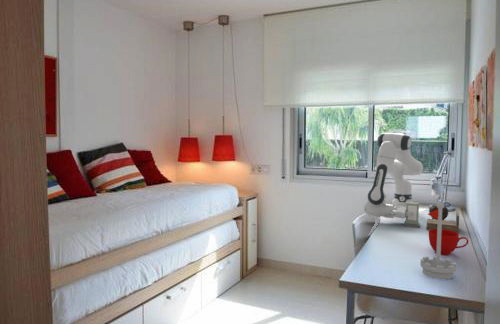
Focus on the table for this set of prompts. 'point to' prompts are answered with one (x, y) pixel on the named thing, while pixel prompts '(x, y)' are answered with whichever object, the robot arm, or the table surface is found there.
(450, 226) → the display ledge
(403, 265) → the table surface
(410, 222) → the green pillar on base
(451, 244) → the ceramic cup
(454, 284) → the table surface
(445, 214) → the alarm clock
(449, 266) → the flag stand
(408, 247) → the table surface
